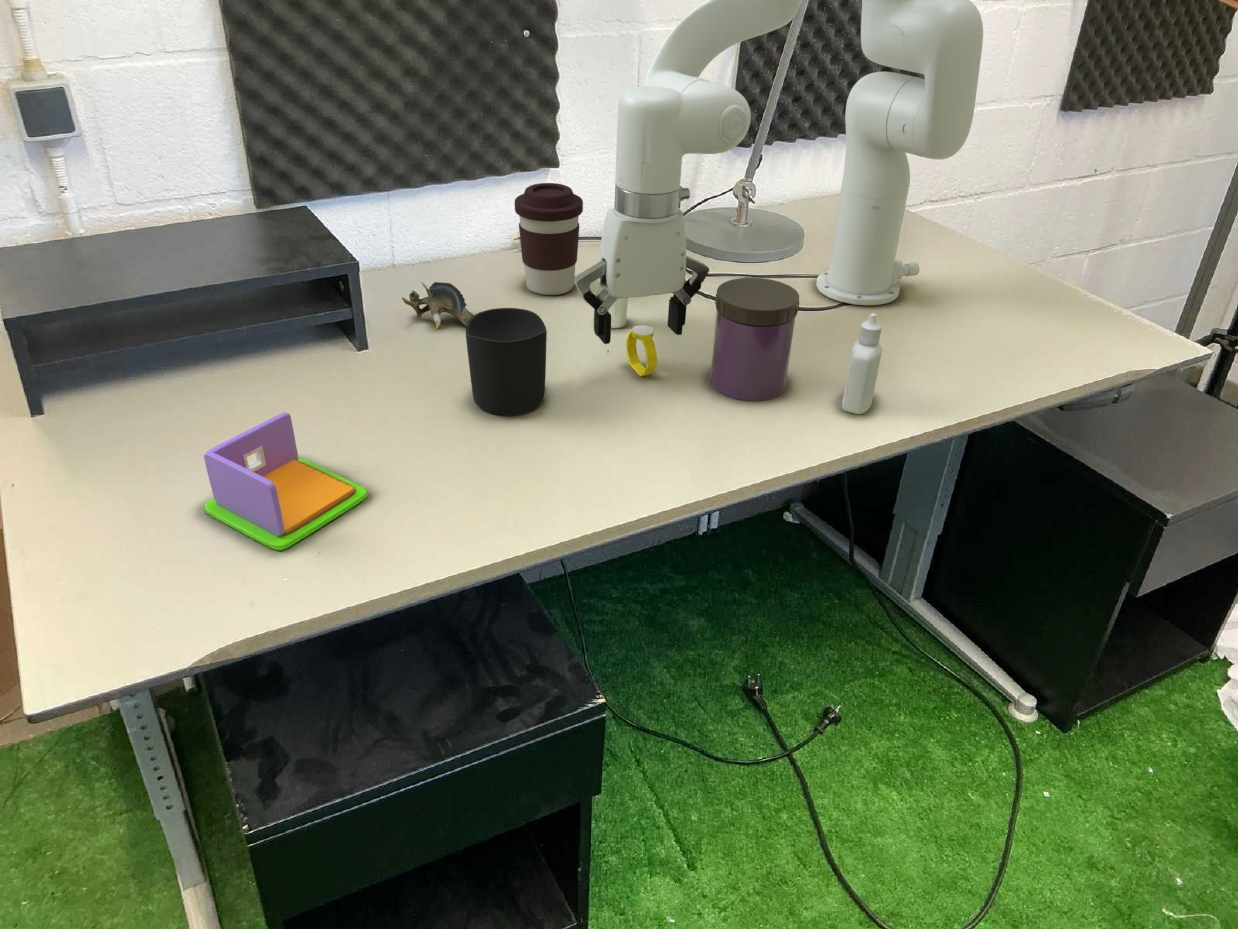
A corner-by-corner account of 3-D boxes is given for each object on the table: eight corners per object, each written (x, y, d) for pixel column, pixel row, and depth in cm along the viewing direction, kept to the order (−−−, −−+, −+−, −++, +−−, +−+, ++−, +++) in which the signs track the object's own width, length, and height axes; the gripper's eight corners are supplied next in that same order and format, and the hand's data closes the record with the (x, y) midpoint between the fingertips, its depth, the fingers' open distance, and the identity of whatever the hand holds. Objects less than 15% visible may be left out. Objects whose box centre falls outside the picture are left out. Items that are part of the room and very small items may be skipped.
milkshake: (632, 315, 139) (634, 249, 133) (629, 331, 134) (631, 263, 129) (601, 313, 139) (602, 247, 134) (596, 329, 135) (597, 261, 129)
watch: (620, 363, 126) (621, 321, 123) (639, 359, 127) (640, 318, 124) (641, 383, 122) (643, 340, 118) (660, 379, 123) (663, 337, 119)
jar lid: (772, 288, 122) (774, 273, 121) (812, 320, 115) (815, 304, 113) (701, 297, 119) (703, 282, 118) (738, 330, 112) (739, 314, 110)
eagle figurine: (402, 327, 131) (465, 321, 129) (399, 275, 131) (462, 268, 129) (424, 335, 138) (484, 329, 136) (421, 286, 138) (481, 279, 137)
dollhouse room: (199, 511, 97) (184, 453, 93) (294, 458, 105) (284, 404, 101) (279, 554, 91) (267, 495, 87) (372, 495, 100) (365, 439, 96)
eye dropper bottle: (827, 403, 119) (842, 313, 112) (859, 391, 121) (875, 302, 115) (853, 418, 116) (870, 326, 109) (885, 405, 118) (904, 315, 112)
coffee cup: (570, 271, 152) (570, 176, 144) (591, 295, 144) (592, 196, 136) (509, 278, 149) (506, 182, 141) (528, 303, 141) (525, 203, 133)
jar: (763, 361, 128) (773, 278, 121) (799, 394, 120) (812, 308, 114) (698, 371, 125) (704, 287, 118) (730, 406, 117) (739, 318, 111)
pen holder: (562, 394, 119) (562, 319, 113) (518, 426, 112) (515, 349, 106) (501, 374, 123) (497, 301, 117) (454, 404, 116) (448, 329, 110)
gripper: (700, 186, 118) (689, 316, 127) (566, 196, 112) (564, 330, 121) (727, 205, 112) (714, 339, 121) (587, 216, 106) (583, 356, 116)
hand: (639, 335), depth 121 cm, fingers open, 9 cm apart
